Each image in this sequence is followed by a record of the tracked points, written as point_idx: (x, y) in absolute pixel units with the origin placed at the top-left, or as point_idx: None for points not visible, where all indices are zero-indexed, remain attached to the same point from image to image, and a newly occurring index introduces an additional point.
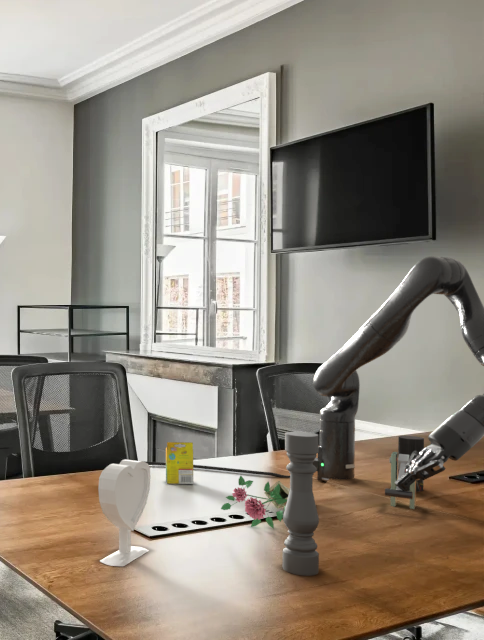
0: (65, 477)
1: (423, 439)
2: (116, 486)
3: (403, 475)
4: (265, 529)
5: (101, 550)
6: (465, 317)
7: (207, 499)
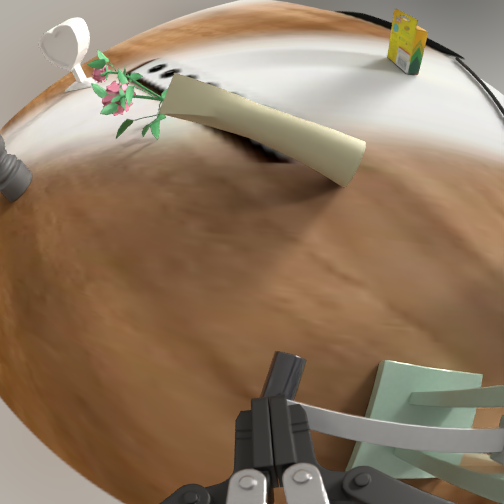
0: (347, 18)
1: None
2: (40, 47)
3: (278, 441)
4: None
5: None
6: None
7: (325, 74)
